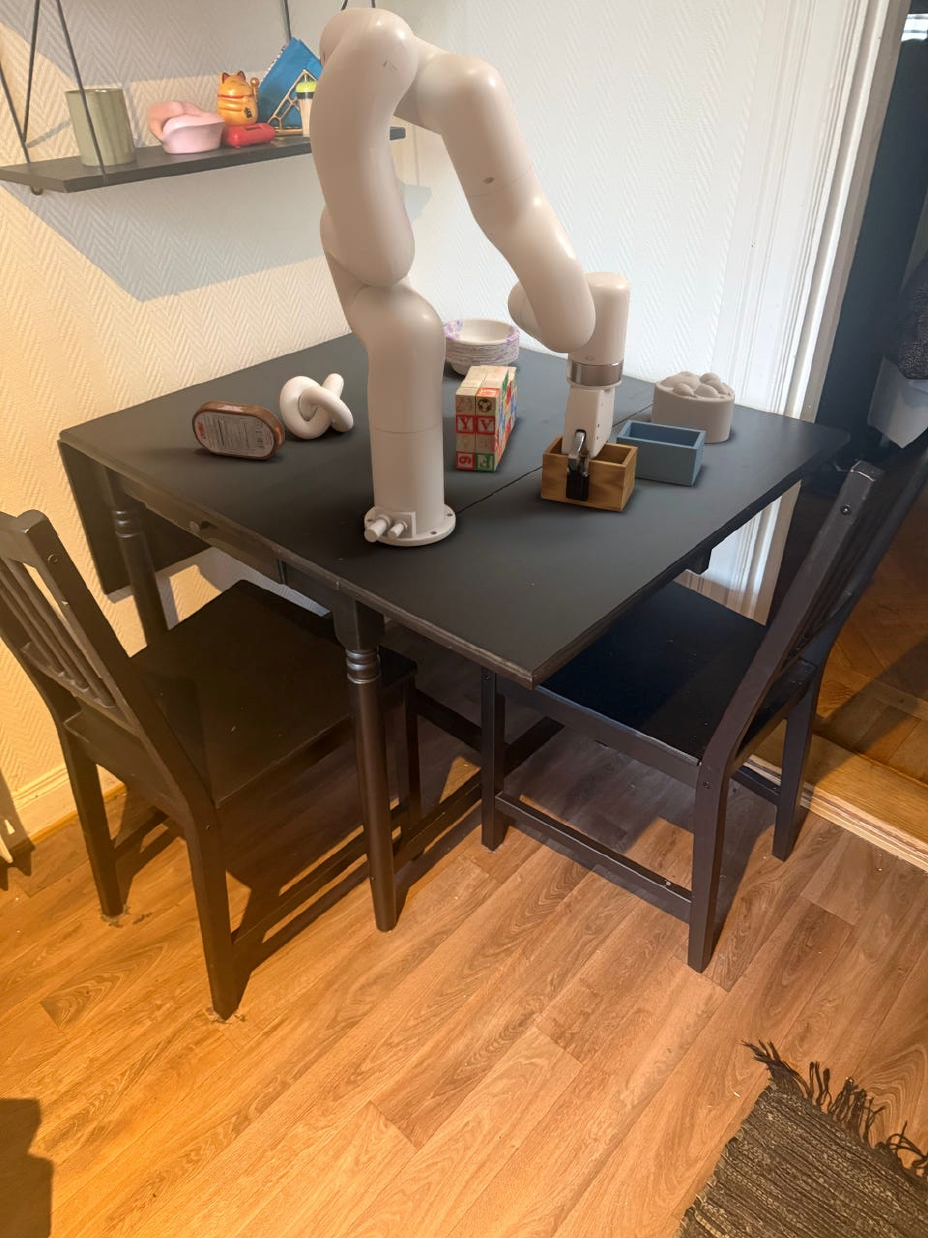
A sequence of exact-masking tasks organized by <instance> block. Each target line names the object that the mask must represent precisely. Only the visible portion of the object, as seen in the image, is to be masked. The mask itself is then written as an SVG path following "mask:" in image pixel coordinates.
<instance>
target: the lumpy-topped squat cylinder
mask: <svg viewBox="0 0 928 1238" xmlns="http://www.w3.org/2000/svg"><path fill="white" fill-rule="evenodd" d="M735 401H736V393H735V391H734V389H733V388H732V387H730V386H729V385H727V384H726V383H725V382H722V380H721V378H720V376H719V375H718V374H716V373H715V372H714V373H713V372H706V373H703V374H702V375H699V374H695V373H693V372H691V371H688V370H683V371H680V372H678V373H677V374H674V375H671V376H667V377H665V378H664V379H661V380H658V381H656V382H655V384H654V388H653V397H652V406H651V416H650V423H654V424H661V425H668V426H674V427H681V428H688V429H695V430H702V431H706V434H705V441H704V444H716V443H722V442H725V441H727V440H728V439H729V437H730V430H731V425H732V419H733V412H734V406H735Z"/></svg>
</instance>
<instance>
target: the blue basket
mask: <svg viewBox="0 0 928 1238" xmlns="http://www.w3.org/2000/svg"><path fill="white" fill-rule="evenodd" d="M705 434H706V431H702V430H695V429H688V428H681V427H674V426H668V425H661V424H654V423H651V422H648V421H640V420H633V419H632V420H631V419H628V420H627V421H626V423H625V424H624V425H623V427H622V428H621V430H620V431H619V433H618V435H617V436H616V439H615V440H616V442H615V444H620V445H627V446H633V447H638V449H637V458H636V468H635V477H634V478H639V479H643V480H644V479H645V480H651V481H656V482H663V483H668V484H669V483H670V484H675V485H682V486H687V487H693V484H694V482H695V480H696V478H697V476H698V474H699V472H700V470H701V466H702V461H703V460H702V459H703V452H704V447H705V443H704V441H705Z"/></svg>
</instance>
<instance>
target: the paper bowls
mask: <svg viewBox="0 0 928 1238" xmlns="http://www.w3.org/2000/svg"><path fill="white" fill-rule="evenodd" d="M443 327H444V331H445V336H446V353H445V361H446V362H448V363H450V365H451V367H452V369H453V371H455V372H456V373H457V374H459V375H462V376H464V377H466V376H467V374H468V371H469V369H470V367H471V366H481V365H487V366H507V367H509V364H511V363H512V362H515V361H516V360H517V359H518V357H519V353H520V342H521V341H520V339H521V338H520V337H521V332H520V330H519V327H518V326H517V325H514V324H512V323H510V322H508V321H505V320H499V319H494V318H484V317H482V318H481V317H471V318H470V317H469V318H462V319H457V320H452V321H450V322H449V321H448V322H447V323H445V324H443Z"/></svg>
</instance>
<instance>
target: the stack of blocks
mask: <svg viewBox="0 0 928 1238" xmlns="http://www.w3.org/2000/svg"><path fill="white" fill-rule="evenodd" d="M517 369H518V368H517V367H516V366H487V365H481V366H471V367H470V369H469V371H468V374H467V376H464V377H465V378H464V379H463V381H462V382H461V383H460V385H459V387H458V389H457V390H456V392H455V395H454V399H455V401H454V403H455V406H454V407H455V409H454V410H455V419H454V420H455V421H454V422H455V424H454V425H455V467H456V468H455V469H457V470H467V471H468V470H469V471H481V472H492V473H494V472H496V470H497V467H498V464H499V463H500V461H501V459H502V456H503V454H504V451H505V449H506V444H507V442H508V438H509V436H510V433H511V432H512V431H513V428H514V425H515V423H516V420H517V399H518V384H517V371H518V370H517Z"/></svg>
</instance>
